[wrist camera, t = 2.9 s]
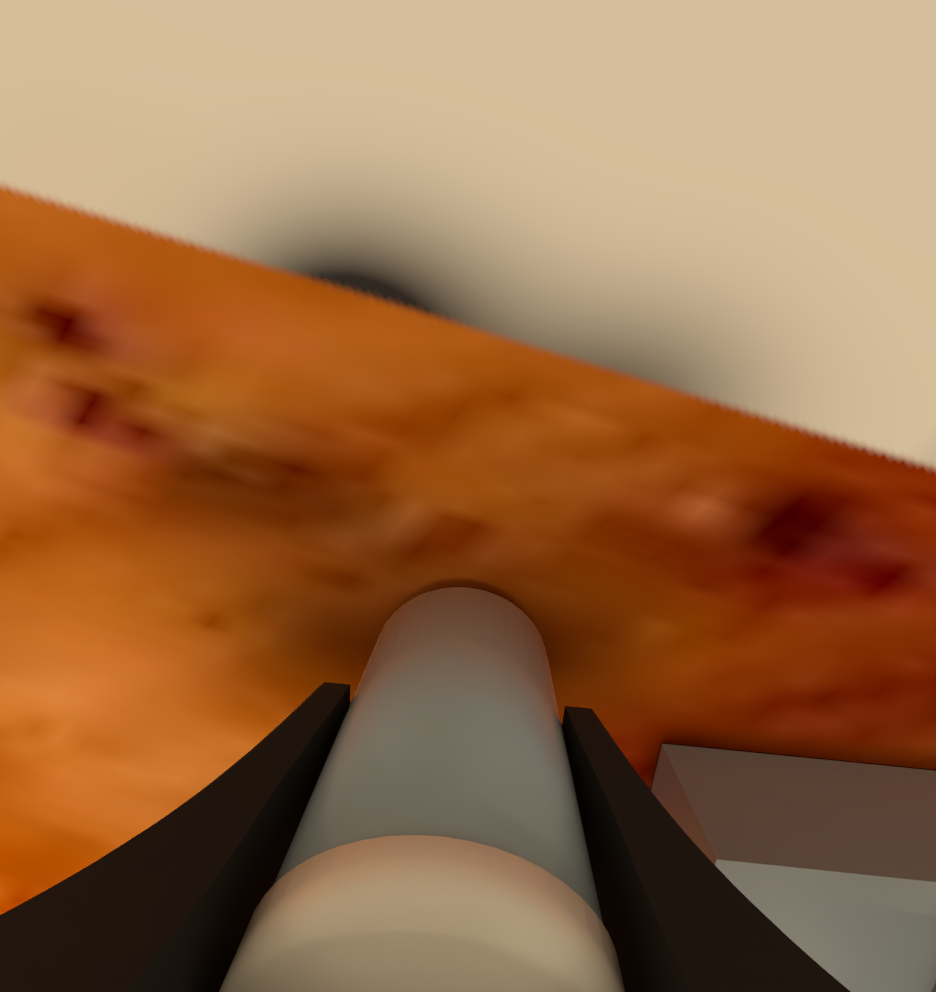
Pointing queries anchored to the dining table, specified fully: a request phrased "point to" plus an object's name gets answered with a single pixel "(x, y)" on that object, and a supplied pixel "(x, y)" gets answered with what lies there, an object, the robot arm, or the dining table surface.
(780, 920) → the tray
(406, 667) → the jar
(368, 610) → the dining table surface
